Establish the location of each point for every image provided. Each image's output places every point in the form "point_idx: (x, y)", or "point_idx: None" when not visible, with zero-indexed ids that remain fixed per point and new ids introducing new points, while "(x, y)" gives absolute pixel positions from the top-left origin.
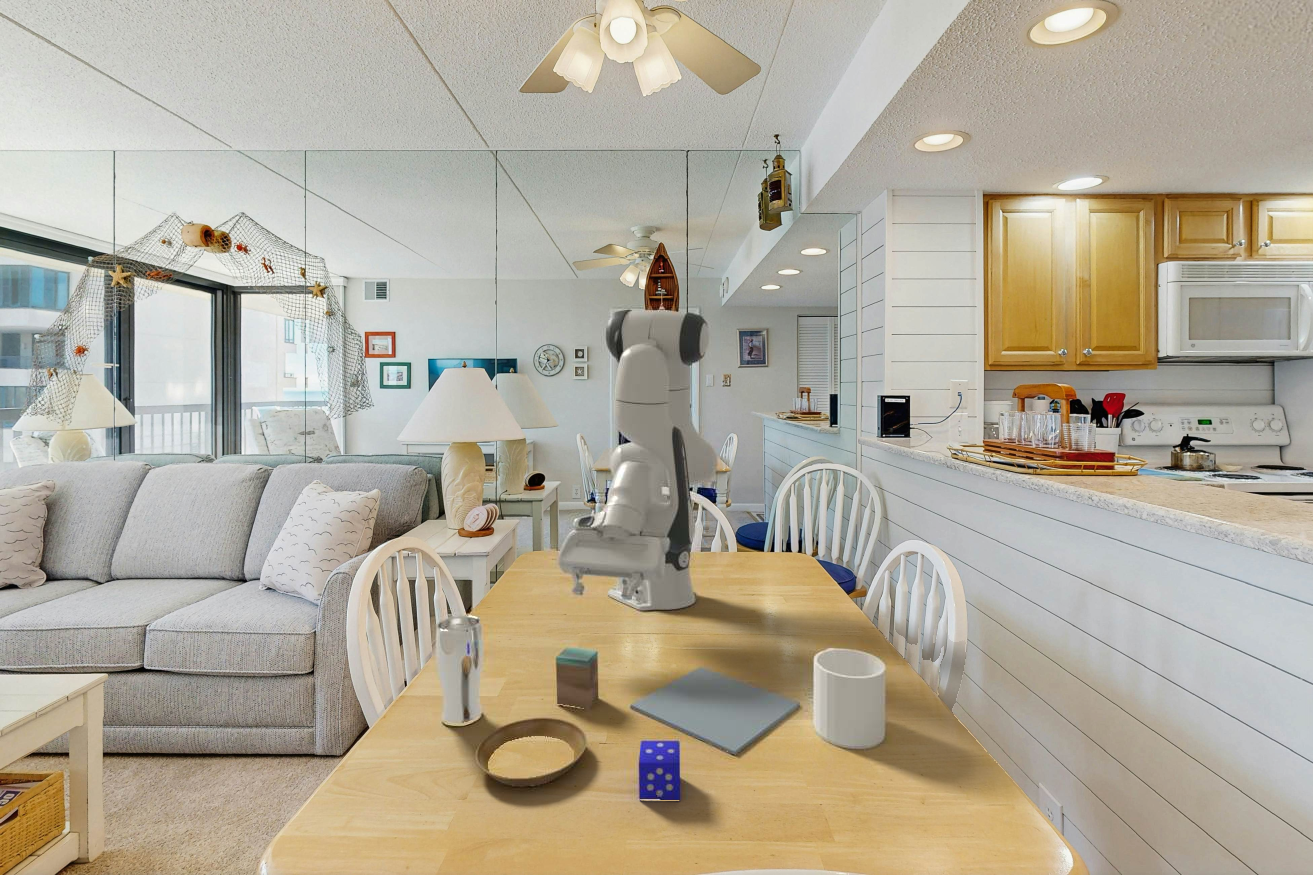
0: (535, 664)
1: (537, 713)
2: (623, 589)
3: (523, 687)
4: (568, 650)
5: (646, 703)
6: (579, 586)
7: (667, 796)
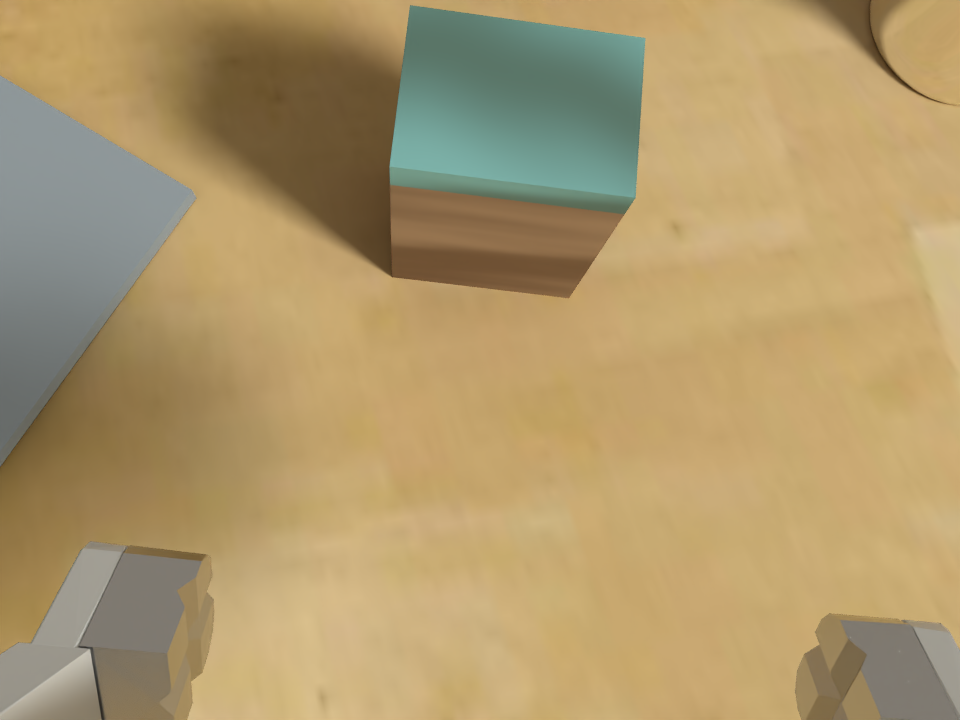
0: None
1: None
2: (169, 607)
3: (828, 331)
4: (601, 146)
5: (105, 213)
6: (878, 666)
7: None
